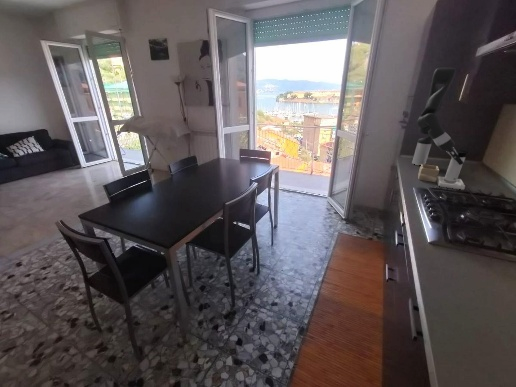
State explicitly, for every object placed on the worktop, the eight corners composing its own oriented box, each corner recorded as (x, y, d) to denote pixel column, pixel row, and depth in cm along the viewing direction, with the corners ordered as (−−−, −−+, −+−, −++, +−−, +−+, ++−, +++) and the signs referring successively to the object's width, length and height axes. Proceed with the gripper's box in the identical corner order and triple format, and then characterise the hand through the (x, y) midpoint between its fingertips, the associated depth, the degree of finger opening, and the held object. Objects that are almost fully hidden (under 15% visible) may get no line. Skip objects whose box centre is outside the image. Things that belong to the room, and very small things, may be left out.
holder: (417, 174, 167) (421, 164, 163) (434, 177, 162) (437, 166, 159) (418, 179, 158) (421, 168, 155) (435, 182, 154) (439, 170, 151)
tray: (436, 179, 158) (437, 176, 157) (459, 182, 152) (461, 179, 151) (438, 186, 147) (439, 182, 146) (463, 190, 141) (465, 186, 140)
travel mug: (456, 184, 145) (468, 152, 136) (443, 181, 148) (454, 150, 140) (456, 181, 149) (468, 150, 141) (443, 178, 153) (454, 148, 144)
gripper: (452, 139, 135) (470, 162, 135) (448, 135, 146) (465, 156, 146) (438, 147, 140) (455, 169, 139) (435, 142, 151) (452, 163, 151)
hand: (460, 162), depth 143 cm, fingers closed on travel mug, 6 cm apart
